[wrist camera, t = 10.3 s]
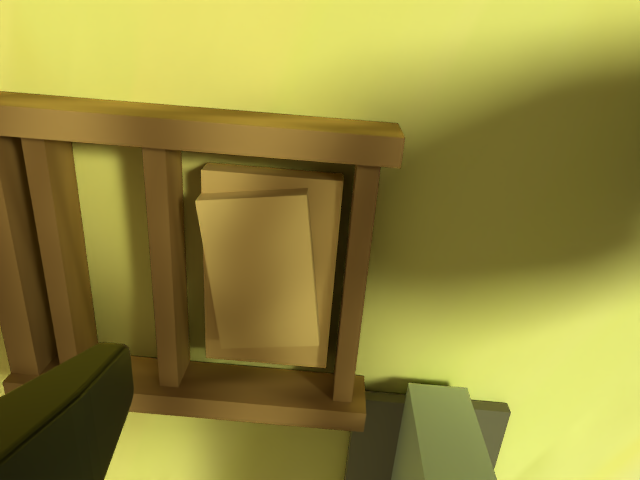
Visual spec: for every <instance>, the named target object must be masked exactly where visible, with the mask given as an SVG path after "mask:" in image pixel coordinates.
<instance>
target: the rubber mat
mask: <svg viewBox="0 0 640 480" xmlns="http://www.w3.org/2000/svg"><path fill="white" fill-rule="evenodd" d="M405 399H406V394H395V393H383V392H372V391H365V401H366V419H365V426H364V432H356V431H350V439H349V447H348V455H347V463H346V471H345V479H344V480H391V477H392V471H393V466H394V460H395V454H396V449H397V443H398V438H399V432H400V427H401V421H402V415H403V410H404V404H405ZM471 402H472V405H473V408H474V411H475V414H476V417H477V420H478V423H479V426H480V429H481V432H482V435H483V438H484V441H485V444H486V448H487V451H488V454H489V457H490V460H491V463H492V466H493V469H494V468H495V464H496V461H497V458H498V454H499V451H500V447H501V444H502V441H503V437H504V434H505V430H506V427H507V423H508V420H509V417H510V413H511V412H510V410H509V407H508V405H507V403H499V402H487V401H476V400H471Z"/></svg>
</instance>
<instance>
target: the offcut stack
mask: <svg viewBox="0 0 640 480" xmlns="http://www.w3.org/2000/svg"><path fill="white" fill-rule="evenodd" d="M342 191H343V173H330V172H318V171H306V170H294V169H282V168H269V167H257V166H245V165H233V164H220V163H207V164H206V165H205V166H204V167H203V168H202V169H201V194H200V195H199V196H198V198H197V199H196V200H195V204H196V209H197V215H198V220H199V226H200V232H201V237H202V243H203V269H204V307H205V344H206V358H214V359H226V360H238V361H249V362H261V363H272V364H284V365H296V366H307V367H319V368H326V361H327V351H328V340H329V330H330V319H331V308H332V298H333V287H334V276H335V266H336V255H337V244H338V234H339V223H340V212H341V202H342Z"/></svg>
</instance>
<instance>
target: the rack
mask: <svg viewBox="0 0 640 480" xmlns="http://www.w3.org/2000/svg"><path fill="white" fill-rule="evenodd" d="M71 142H84V143H96V144H108V145H120V146H133V147H142V155H143V168H144V181H145V195H146V208H147V222H148V235H149V249H150V262H151V275H152V289H153V302H154V316H155V329H156V342H157V356H158V358H150V357H138V356H131V363H132V373H133V383H134V394H133V399H132V403H131V406H130V409H129V412H139V413H151V414H162V415H174V416H185V417H197V418H208V419H219V420H231V421H242V422H254V423H265V424H276V425H288V426H299V427H311V428H322V429H334V430H345V431H356V432H364V426H365V419H366V401H365V382H364V376H358V375H355V371H356V362H357V354H358V346H359V338H360V330H361V322H362V314H363V306H364V298H365V290H366V282H367V274H368V266H369V258H370V250H371V242H372V234H373V226H374V217H375V209H376V201H377V193H378V185H379V177H380V169H381V167H390V168H401V164H402V156H403V149H404V142H405V137H404V135H403V133H402V131H401V129H400V127H399V125H398V123H388V122H376V121H363V120H351V119H338V118H326V117H313V116H301V115H289V114H276V113H264V112H251V111H239V110H226V109H214V108H202V107H189V106H177V105H164V104H152V103H139V102H127V101H115V100H102V99H90V98H77V97H65V96H52V95H40V94H28V93H15V92H3V91H0V325H1V330H2V334H3V339H4V343H5V347H6V352H7V356H8V361H9V365H10V370H11V374H10V375H9V376H8V377H7V378H6V379H5V380H4V381H3V386H4V391H5V394H7V393H9V392H10V391H12V390H14V389H16V388H18V387H20V386H21V385H23V384H25V383H27V382H29V381H30V380H32V379H34V378H36V377H38V376H40V375H41V374H43V373H45V372H47V371H49V370H50V369H52V368H54V367H56V366H58V365H60V364H61V363H63V362H65V361H67V360H69V359H70V358H72V357H74V356H76V355H78V354H80V353H81V352H83V351H85V350H87V349H89V348H90V347H92V346H94V345H96V344H98V339H97V332H96V324H95V317H94V309H93V302H92V294H91V286H90V279H89V271H88V264H87V256H86V249H85V241H84V233H83V226H82V218H81V211H80V203H79V196H78V188H77V180H76V173H75V165H74V158H73V150H72V143H71ZM181 150H182V151H194V152H206V153H219V154H231V155H243V156H255V157H268V158H280V159H292V160H304V161H317V162H329V163H341V164H354V165H355V169H354V179H353V189H352V198H351V208H350V218H349V228H348V238H347V247H346V257H345V267H344V277H343V286H342V296H341V306H340V316H339V325H338V335H337V345H336V355H335V365H334V373H323V372H312V371H300V370H289V369H277V368H266V367H254V366H242V365H231V364H219V363H208V362H196V361H190V346H189V323H188V299H187V275H186V252H185V228H184V204H183V181H182V157H181Z"/></svg>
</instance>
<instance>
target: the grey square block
mask: <svg viewBox="0 0 640 480" xmlns="http://www.w3.org/2000/svg"><path fill="white" fill-rule="evenodd" d="M391 480H497V478H496V475H495V472H494V469H493V466H492V463H491V460H490V457H489V454H488V451H487V448H486V444H485V441H484V438H483V435H482V432H481V429H480V426H479V423H478V420H477V417H476V414H475V411H474V408H473V405H472V402H471V399H470V395H469V392H468V389H467V388H463V387H451V386H439V385H428V384H416V383H408V387H407V393H406V399H405V404H404V410H403V415H402V421H401V427H400V432H399V438H398V443H397V449H396V454H395V460H394V466H393V471H392V477H391Z"/></svg>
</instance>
